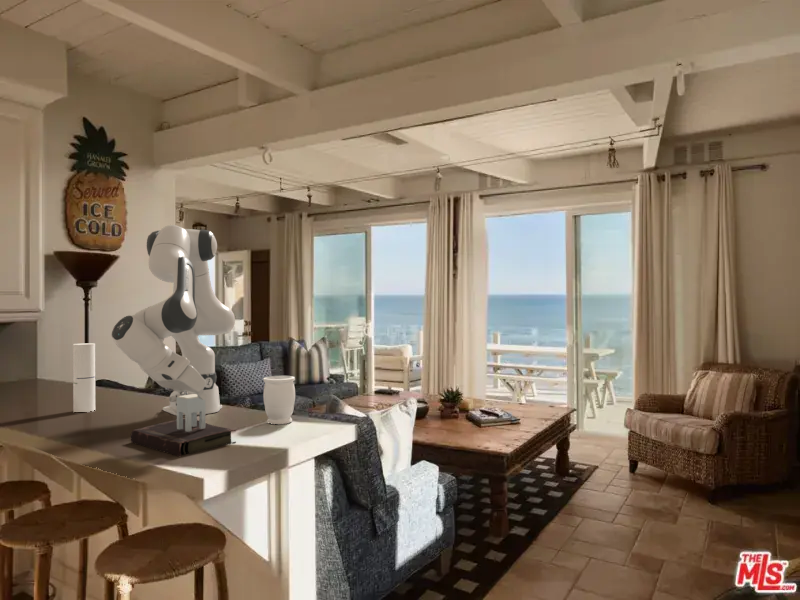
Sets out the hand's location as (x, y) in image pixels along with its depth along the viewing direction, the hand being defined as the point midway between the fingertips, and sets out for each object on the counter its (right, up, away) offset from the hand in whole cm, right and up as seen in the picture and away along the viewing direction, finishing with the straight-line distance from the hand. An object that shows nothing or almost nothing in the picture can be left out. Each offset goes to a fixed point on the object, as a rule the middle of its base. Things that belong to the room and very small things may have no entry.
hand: (195, 395), depth 162 cm
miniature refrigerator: (-59, -14, +48) cm, 77 cm away
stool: (-1, -9, -1) cm, 9 cm away
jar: (+19, -14, +27) cm, 35 cm away
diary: (-3, -14, 0) cm, 15 cm away
